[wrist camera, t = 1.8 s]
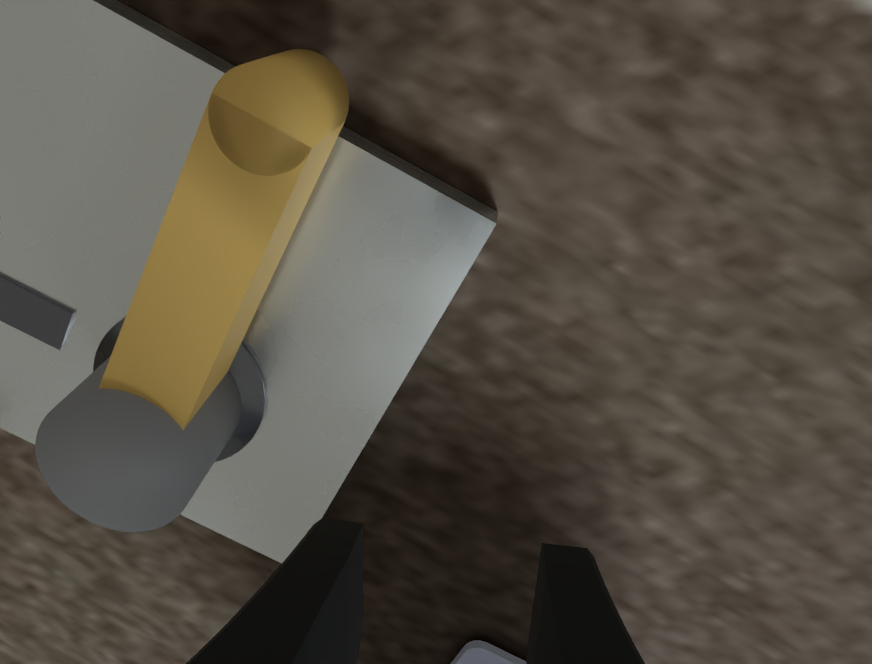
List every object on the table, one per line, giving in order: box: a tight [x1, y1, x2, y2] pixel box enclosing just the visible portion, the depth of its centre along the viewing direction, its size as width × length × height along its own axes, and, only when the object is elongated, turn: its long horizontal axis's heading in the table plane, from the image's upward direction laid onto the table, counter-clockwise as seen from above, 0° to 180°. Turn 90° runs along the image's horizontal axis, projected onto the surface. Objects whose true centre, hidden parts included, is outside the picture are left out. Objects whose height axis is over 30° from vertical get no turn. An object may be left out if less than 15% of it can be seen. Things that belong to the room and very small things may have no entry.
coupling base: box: [0, 0, 498, 563], centre depth 20 cm, size 13×16×1 cm
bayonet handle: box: [35, 49, 349, 532], centre depth 17 cm, size 11×4×3 cm, turn 152°
